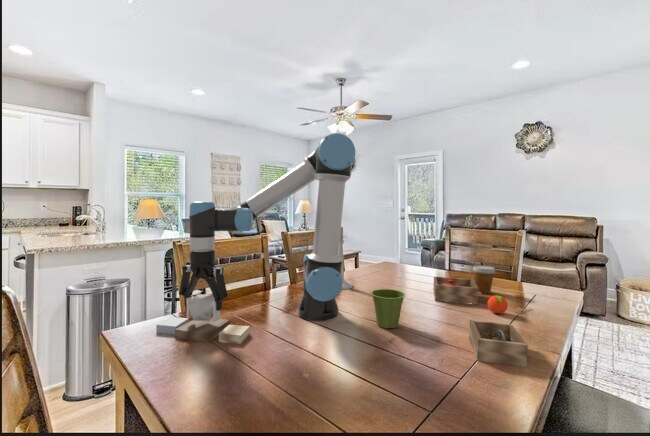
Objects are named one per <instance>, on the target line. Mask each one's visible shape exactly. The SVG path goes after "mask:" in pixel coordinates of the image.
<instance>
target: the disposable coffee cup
mask: <svg viewBox="0 0 650 436" xmlns="http://www.w3.org/2000/svg"><path fill="white" fill-rule="evenodd" d="M472 271H473V277H474V279H473V281H474V282H475V284H476V285H477V287H478V288H479V291H478V292H481V293H490V294H491V292H492V291H491V290H492V285H493V280H494V274H495V273H496V270H495V267H493V266H489V265H482V264H479V265H474V266H473V268H472Z"/></svg>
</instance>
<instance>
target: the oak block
mask: <svg viewBox="0 0 650 436" xmlns="http://www.w3.org/2000/svg"><path fill="white" fill-rule="evenodd" d="M250 329H251V327H250V325H238V324H230V325H228V326H227V327H226V328H225V329H223V330H222V331H221V332H220V333H219V335H218V342H219V343H224V344H225V343H226V344H227V343H228V344H238V345H239V344H240V345H241V344H243V342H244V341H245V340H246V339H247V338H248V337H249V336H250V333H251V330H250Z"/></svg>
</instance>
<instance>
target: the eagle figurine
mask: <svg viewBox="0 0 650 436" xmlns="http://www.w3.org/2000/svg"><path fill="white" fill-rule="evenodd" d="M480 332H481V334H482V335H484V336H485V337H487V338H488V339H491V340H500V341H505V336H504V333H503V332H502V331H501V330H498V337H494V336H495V333H494V332H493V335H492V336H491V335H490V332H489V331H488V332H487V335H486V334H484V333H483V332H482V331H481V330H480Z"/></svg>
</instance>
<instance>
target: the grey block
mask: <svg viewBox="0 0 650 436" xmlns="http://www.w3.org/2000/svg"><path fill="white" fill-rule="evenodd" d="M188 322H190V318H187V317H175V316H169V317H168V318H166V319H163V320H162V321H160V322H159V323H157V324H156V325H155V326H156V327H155V329H156V333H157V334H169V335H175V329H177V328H178V327H180V326H182V325H184V324H186V323H188Z"/></svg>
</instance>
